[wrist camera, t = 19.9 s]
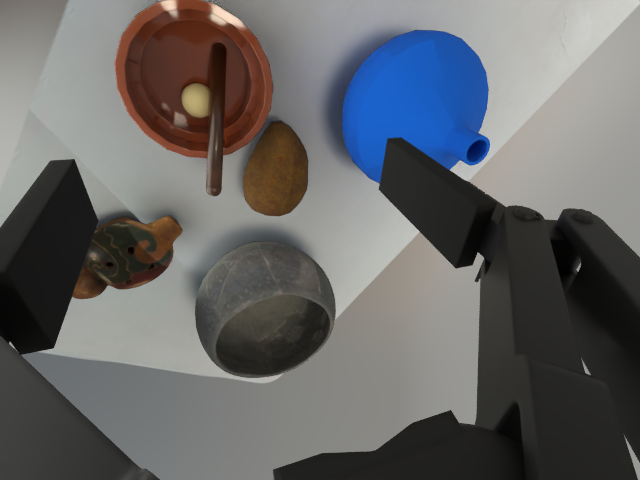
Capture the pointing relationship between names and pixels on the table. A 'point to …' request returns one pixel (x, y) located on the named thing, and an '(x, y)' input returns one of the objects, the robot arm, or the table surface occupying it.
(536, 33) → the table surface
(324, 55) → the table surface
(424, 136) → the vase
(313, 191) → the table surface
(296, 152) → the potato
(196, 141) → the mixing bowl
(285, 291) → the bowl
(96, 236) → the ocarina
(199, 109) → the dough ball
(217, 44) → the stick
